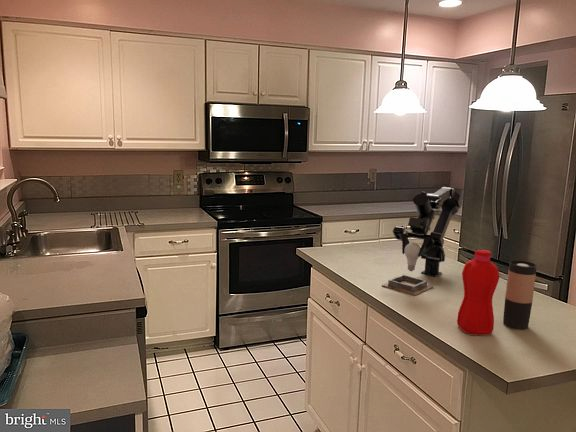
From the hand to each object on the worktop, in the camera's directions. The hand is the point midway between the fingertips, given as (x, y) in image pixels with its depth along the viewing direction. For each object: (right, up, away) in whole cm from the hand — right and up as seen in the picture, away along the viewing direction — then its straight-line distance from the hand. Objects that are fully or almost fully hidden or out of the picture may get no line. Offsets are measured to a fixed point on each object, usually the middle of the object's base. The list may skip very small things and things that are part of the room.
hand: (410, 254), depth 179 cm
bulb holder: (0, -13, +5) cm, 13 cm away
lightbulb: (+1, -6, +2) cm, 7 cm away
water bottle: (+11, -20, -33) cm, 40 cm away
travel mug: (+25, -20, -29) cm, 43 cm away
